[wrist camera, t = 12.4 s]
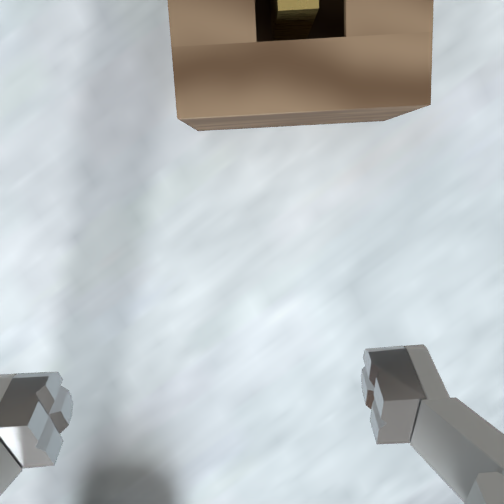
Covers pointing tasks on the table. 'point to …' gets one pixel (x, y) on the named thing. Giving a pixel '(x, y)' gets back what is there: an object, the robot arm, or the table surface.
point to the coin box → (299, 63)
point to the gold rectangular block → (292, 18)
